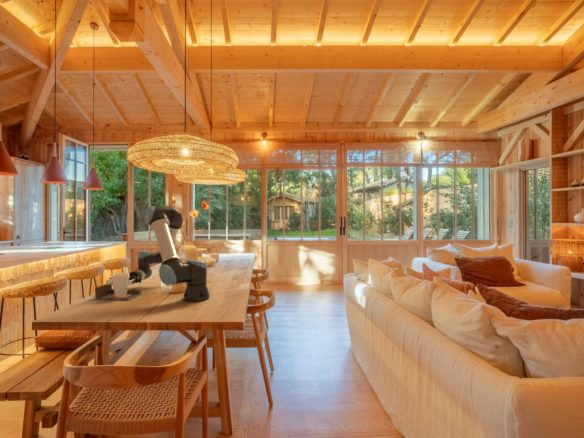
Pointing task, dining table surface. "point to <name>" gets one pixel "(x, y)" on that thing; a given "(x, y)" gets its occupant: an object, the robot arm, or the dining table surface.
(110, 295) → the wooden-edged grey tray
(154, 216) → the robot arm
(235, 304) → the dining table surface
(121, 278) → the foam cup
